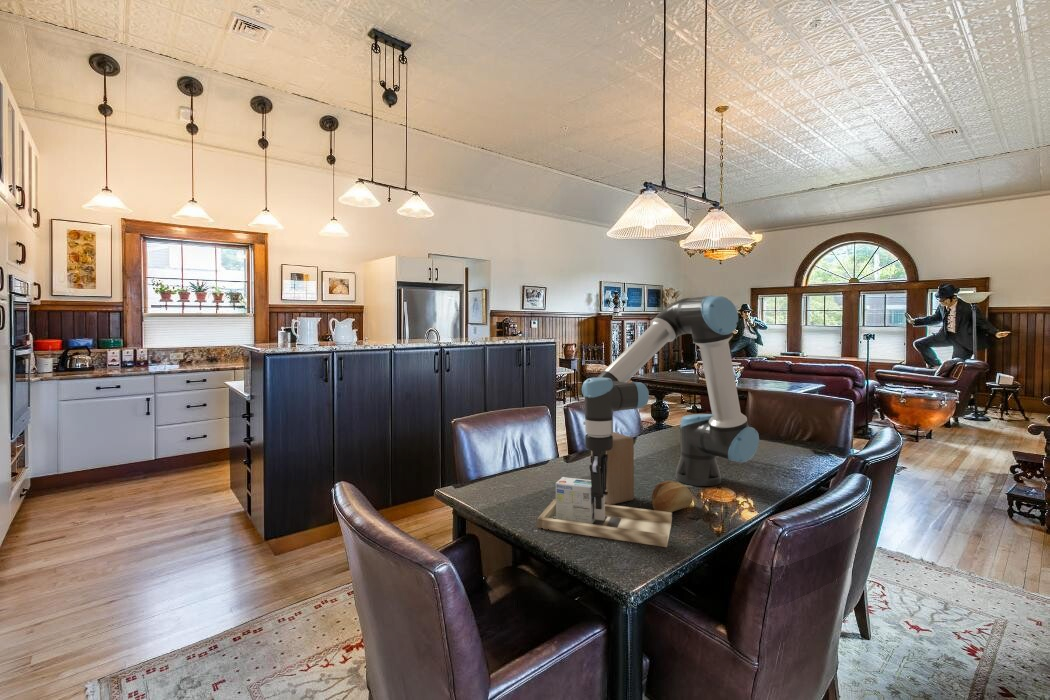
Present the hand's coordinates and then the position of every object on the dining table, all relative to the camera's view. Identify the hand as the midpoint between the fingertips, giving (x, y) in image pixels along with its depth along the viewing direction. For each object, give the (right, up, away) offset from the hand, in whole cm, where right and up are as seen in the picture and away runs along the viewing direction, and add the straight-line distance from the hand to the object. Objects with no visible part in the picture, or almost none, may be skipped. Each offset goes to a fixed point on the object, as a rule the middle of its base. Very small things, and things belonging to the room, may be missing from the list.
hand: (599, 518), depth 131 cm
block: (+7, -1, +19) cm, 21 cm away
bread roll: (+23, -1, +10) cm, 25 cm away
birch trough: (+2, -1, 0) cm, 2 cm away
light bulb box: (-6, -1, +4) cm, 7 cm away
